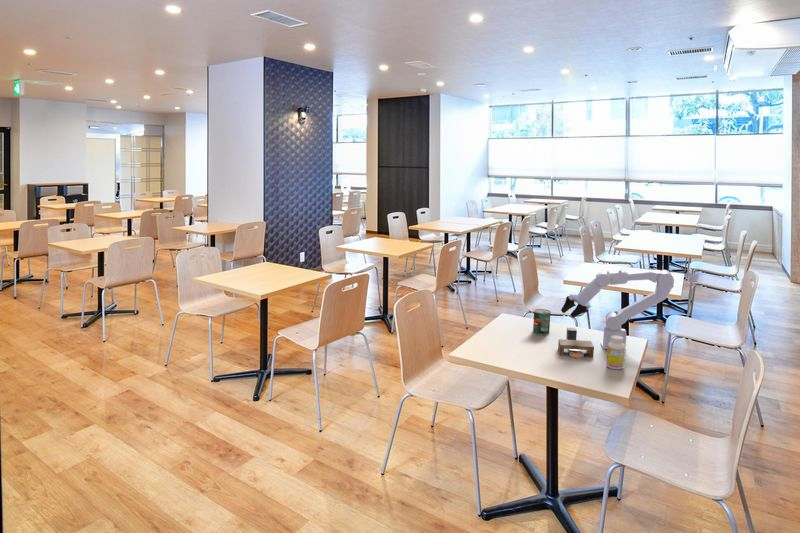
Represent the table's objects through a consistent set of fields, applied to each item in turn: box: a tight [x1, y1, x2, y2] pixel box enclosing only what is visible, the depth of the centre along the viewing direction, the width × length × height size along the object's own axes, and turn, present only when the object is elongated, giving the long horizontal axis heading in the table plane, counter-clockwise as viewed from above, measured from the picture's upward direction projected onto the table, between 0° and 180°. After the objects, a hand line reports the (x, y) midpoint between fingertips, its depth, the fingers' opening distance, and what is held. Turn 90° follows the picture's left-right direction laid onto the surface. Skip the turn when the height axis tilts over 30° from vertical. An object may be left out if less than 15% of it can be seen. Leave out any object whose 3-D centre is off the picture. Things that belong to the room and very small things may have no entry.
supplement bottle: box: [606, 335, 626, 370], centre depth 224 cm, size 7×7×13 cm
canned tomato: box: [532, 308, 552, 336], centre depth 269 cm, size 8×8×11 cm
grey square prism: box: [565, 327, 582, 353], centre depth 250 cm, size 5×17×6 cm, turn 170°
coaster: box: [568, 350, 585, 359], centre depth 238 cm, size 6×6×2 cm
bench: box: [557, 338, 595, 358], centre depth 241 cm, size 14×8×5 cm, turn 79°
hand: (567, 314), depth 253 cm, fingers open, 7 cm apart
